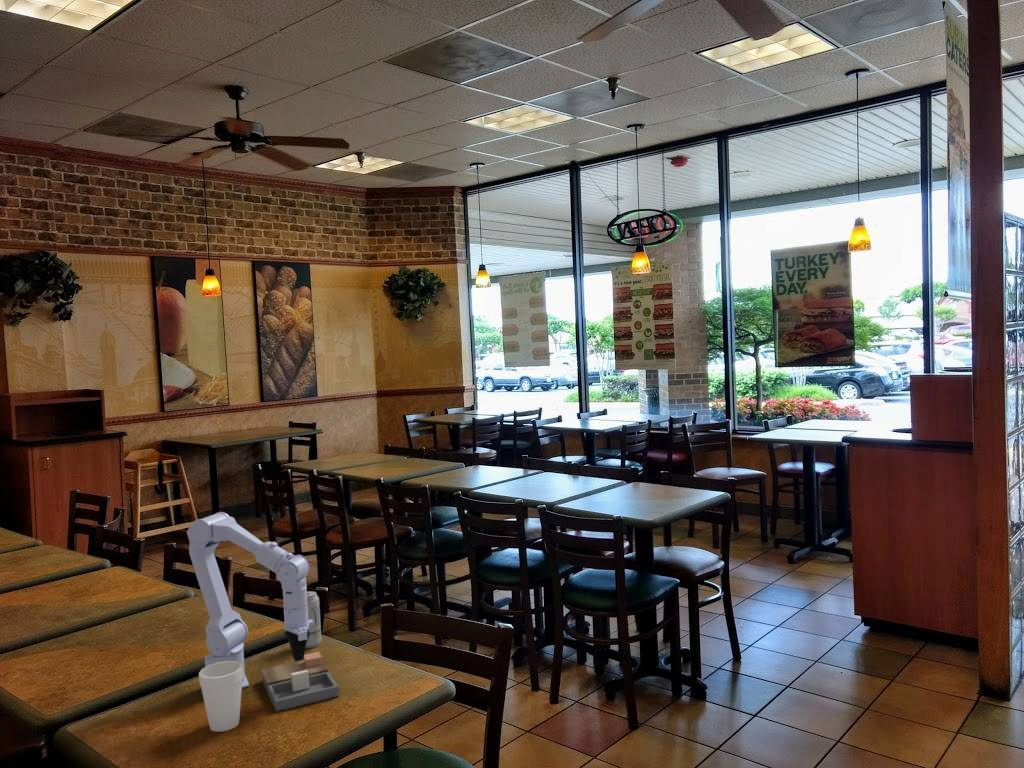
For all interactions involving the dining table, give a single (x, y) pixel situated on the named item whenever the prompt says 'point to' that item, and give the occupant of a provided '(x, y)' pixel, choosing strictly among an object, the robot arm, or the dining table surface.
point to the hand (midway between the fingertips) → (298, 659)
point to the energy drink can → (315, 616)
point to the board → (288, 672)
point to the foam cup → (222, 694)
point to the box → (303, 692)
